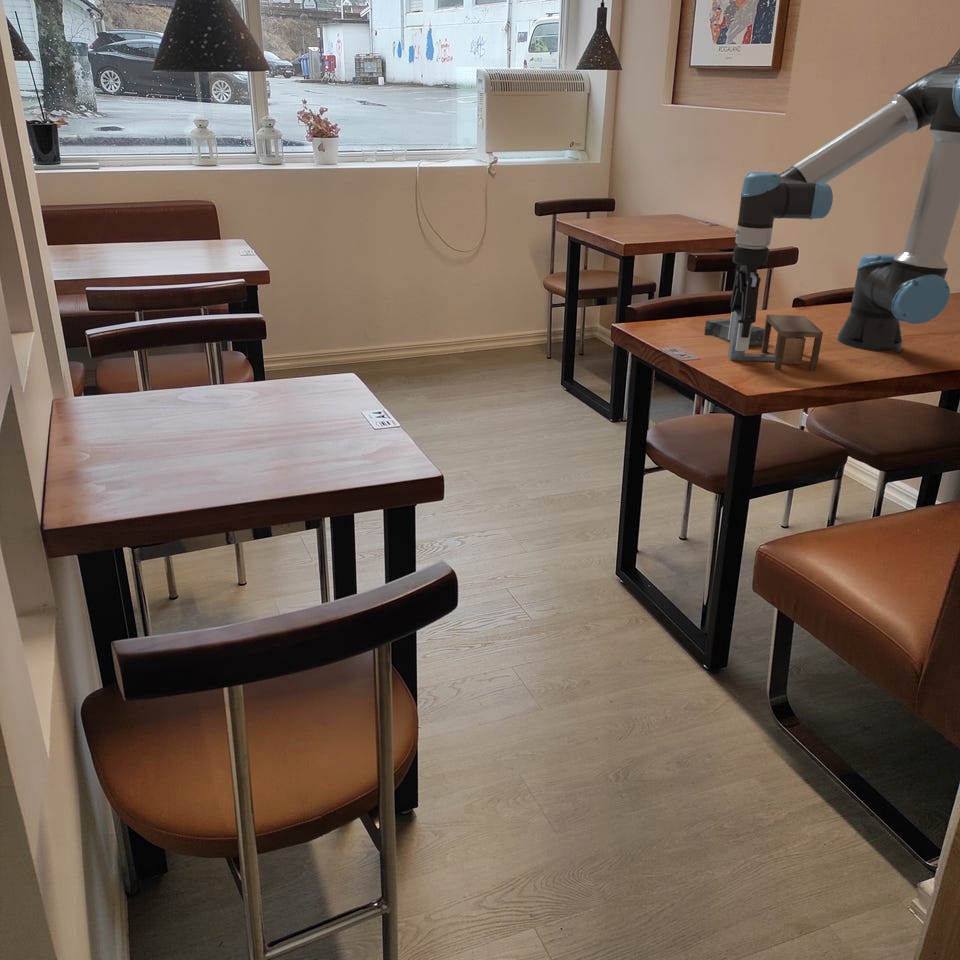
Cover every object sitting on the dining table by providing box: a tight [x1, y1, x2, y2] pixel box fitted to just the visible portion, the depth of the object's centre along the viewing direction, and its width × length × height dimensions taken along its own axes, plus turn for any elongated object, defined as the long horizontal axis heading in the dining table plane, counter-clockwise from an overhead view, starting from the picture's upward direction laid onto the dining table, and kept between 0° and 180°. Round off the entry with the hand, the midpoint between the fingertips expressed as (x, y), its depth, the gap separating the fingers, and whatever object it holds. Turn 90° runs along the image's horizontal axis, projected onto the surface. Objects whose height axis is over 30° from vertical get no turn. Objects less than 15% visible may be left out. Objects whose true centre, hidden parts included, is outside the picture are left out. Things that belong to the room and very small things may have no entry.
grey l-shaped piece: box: [727, 310, 807, 365], centre depth 208 cm, size 16×5×11 cm, turn 87°
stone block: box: [703, 317, 765, 347], centre depth 227 cm, size 9×14×5 cm, turn 25°
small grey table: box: [760, 314, 824, 372], centre depth 209 cm, size 9×15×10 cm, turn 177°
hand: (737, 344), depth 209 cm, fingers open, 8 cm apart
